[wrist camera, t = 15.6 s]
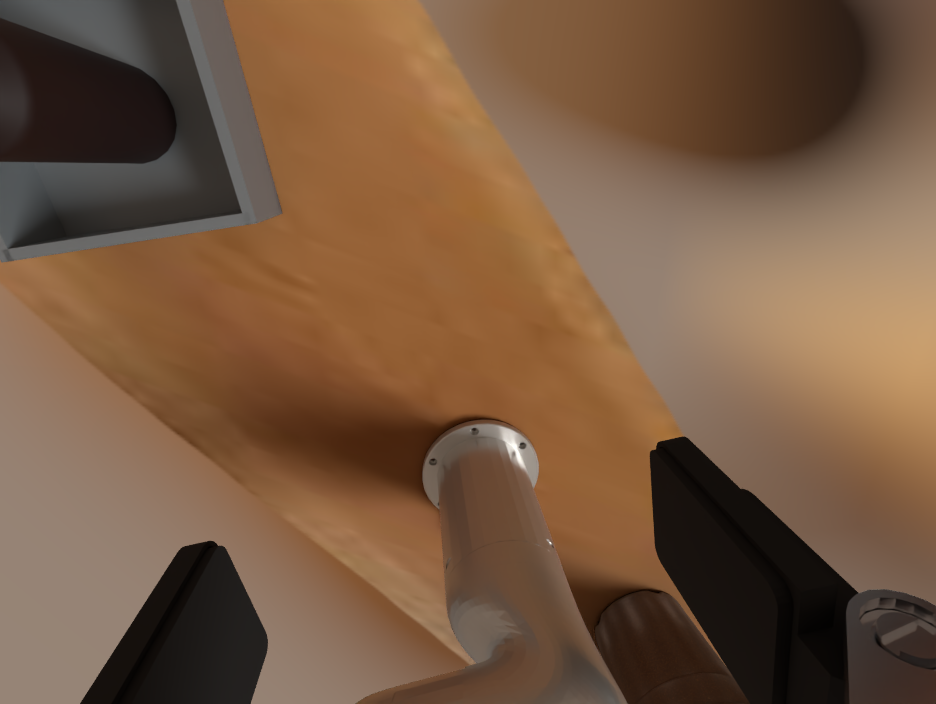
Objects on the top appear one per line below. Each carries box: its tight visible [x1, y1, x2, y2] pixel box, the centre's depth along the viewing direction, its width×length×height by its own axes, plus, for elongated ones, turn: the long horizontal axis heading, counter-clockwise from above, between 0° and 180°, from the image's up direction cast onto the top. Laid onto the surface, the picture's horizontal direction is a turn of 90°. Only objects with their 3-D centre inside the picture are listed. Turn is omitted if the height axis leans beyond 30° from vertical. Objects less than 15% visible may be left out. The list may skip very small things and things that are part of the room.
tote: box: [0, 0, 282, 262], centre depth 33 cm, size 18×18×7 cm
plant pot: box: [595, 590, 750, 704], centre depth 56 cm, size 16×16×16 cm
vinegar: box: [0, 18, 177, 164], centre depth 26 cm, size 7×7×20 cm
